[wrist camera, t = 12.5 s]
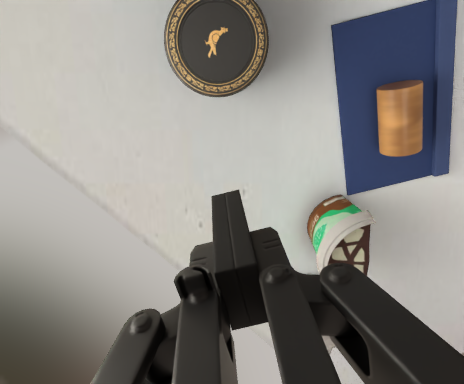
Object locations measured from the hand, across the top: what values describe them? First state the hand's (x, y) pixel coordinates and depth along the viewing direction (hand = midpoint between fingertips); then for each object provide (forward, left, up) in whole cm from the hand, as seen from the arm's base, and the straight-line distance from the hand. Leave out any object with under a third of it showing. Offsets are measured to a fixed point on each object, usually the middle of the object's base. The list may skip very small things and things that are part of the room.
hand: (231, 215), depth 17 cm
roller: (+4, +22, -22) cm, 31 cm away
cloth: (+3, +23, -24) cm, 33 cm away
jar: (-9, +2, -25) cm, 26 cm away
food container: (+18, +11, -25) cm, 32 cm away
